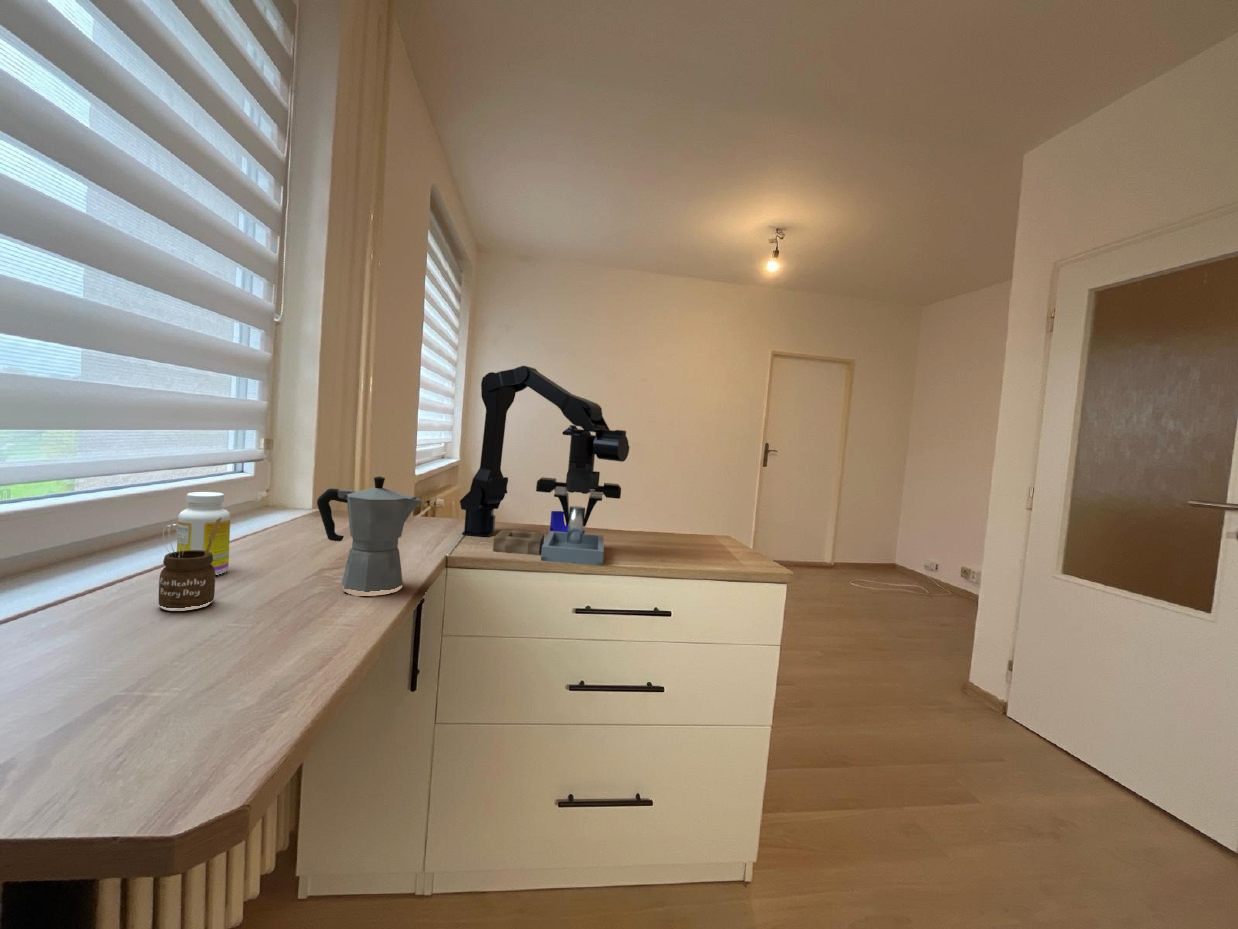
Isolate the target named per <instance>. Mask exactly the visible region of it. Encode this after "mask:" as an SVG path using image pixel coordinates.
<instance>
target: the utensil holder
mask: <svg viewBox="0 0 1238 929" xmlns="http://www.w3.org/2000/svg"><path fill="white" fill-rule="evenodd" d="M221 518H222V517H220V518H219V519H217V520H216V523H215V525H214V528H213V530H212V533H211V535H210V538H209V544H208V547H207V550H206V551H203V550H186V551H184V550H185V548H184V550H183V551H181V545H180V550H179V551H177V550H176V551H175V550H174V547H173V542H172V538H171V536H168V538H169V543H170V546H171V550H172V552H170V551H169V550H168V547H167V545H166V541H165V535H164V534H165V533H164V532H165V530H166V528H163V530H162V539H163V544H164V546H165V548H166V550H167V552H168V553H166V554H165V555H164V559H163V561H162V562H163V565H164V567H163V568H162V570H161V571H160V574H159V581H158V606H159V605H160V606H163V607H166V608H185V607H191V606H200V605H203V604H206V603H208V602H211V601H212V600H213V599H214V598H215V591H216V589H215V588H216V576H215V569H214V567H213V566H212V565H211V563H212V562H213V555H212V553H211V552H209V550H210V547H211V545H212V542H213V540H214V539H215V537H216V534H217V531H218V528H219V525H220V521H221ZM171 526H174V528H175V530H176V534H177V532H178V526H180V525H178V523H170V524H168V525H166V527H167V532H168V535H171V532H170V531H171ZM176 526H177V527H176ZM180 527H181V526H180ZM181 528H182V527H181ZM182 530H183V529H182ZM183 534H184V531H183ZM176 536H179V534H177V535H176ZM184 540H185V535H184ZM179 541H180V539H178V542H179ZM185 545H186V540H185V544H184V547H185ZM213 601H214V600H213Z"/></svg>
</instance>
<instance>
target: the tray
mask: <svg viewBox="0 0 1238 929" xmlns="http://www.w3.org/2000/svg"><path fill="white" fill-rule="evenodd" d="M567 534H568V532H558V531H550V530H549V532H548V533H547V536H546V538H545V539H544V544H543V545H542V549H541V551H540V555H541V556H540V561H541V562H551V563H552V562H553V563H554V562H555V563H566V564H577V565H578V564H579V565H588V566H589V565H591V566H603V562H604V555H605V554H604V552H605V550H604V548H605V547H604V534H595V533H594V534H590V533H585V534H583V540H582V544H571V543H567Z"/></svg>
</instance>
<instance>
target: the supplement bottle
mask: <svg viewBox="0 0 1238 929" xmlns="http://www.w3.org/2000/svg"><path fill="white" fill-rule="evenodd" d="M224 496H225V494H224V493H222V492H215V491H213V492H212V491H198V492H188V493H187V494H186V502H187V507H186V508H185V509H184V510H181V512H180V513H179V514H178V516H177V524H178V525H180V526H181V527H182V528H181V527H180V526H178V525H177V530H178V532H177V531H176V534H179V536H177V535H176V536H177V537H176V539H177V540H176V552H177V551H179V550H180V545H181V551H183V550H184V548H185V550H184V551H186V550H203V551H206V550H207V547H208V544H209V538H210V535H211V533H212V530H213V528H214V525H215V523H216V520H217V519H219V518H220V517H222V518H221V521H220V525H219V528H218V531H217V534H216V537H215V539H214V540H213V542H212V545H211V547H210V550H209V552H211V553H212V555H213V562H212V563H211V565H212V566H213V567H214V569H215V575H216V574H220V573H223V572H225V573H226V571H227V572H228V570H229V564H230V563H229V560H230V542H231V541H230V538H231V536H230V535H231V534H230V533H231V513H230V511H228V510H227V509H225V508H223V502H224V501H225V500H224V499H225V498H224ZM182 529H183V530H182ZM183 531H184V534H183ZM184 535H185V540H186V545H185V547H184V544H185V540H184ZM178 539H180V541H179V542H178Z"/></svg>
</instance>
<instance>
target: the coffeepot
mask: <svg viewBox="0 0 1238 929" xmlns="http://www.w3.org/2000/svg"><path fill="white" fill-rule="evenodd" d="M385 479H386V478H385V477H382V476H374V477H373V481H374V487H372V488H367V489H362V490H357V491H355V490H351V489H340V488H328V489H326V490H325V491H324V492H323V493H321V495H319V497H318V498H317V499H316V505H317V508H318V511H319V514H320V516H321V521H322V523H323V526H324V530H325V533H326V537H327V539H328V541H333V542H342V541H343V539H344V535H341V534H340V535H339V534H337V533H336V531H335V528H336V525H335V521H334V519H333V513H332V508H331V505H330V502H331V501H336V502H339V503H345V504H347V511H348V512H347V513H348V523H349V532H350V533H349V535H350V536H351V538H352V543H351V548H350V549H349V553H348V555H347V561H346V565H345V568H344V572H343V576H342V582H341V584H342V585H343V586H344V589H351V590H357V591H364V592H370V591H380V590H391V589H395V588H397V587H399V586H401V585H403V586H404V582H403V574H402V565H401V563H402V562H401V558H400V557H401V555H400V550H399V538H402V534H403V530H404V525H405V523H406V521H407V520H408V518H409V517H410V515H411V514H412V513H413V511H414V510H415V509H416V507H417V506H418V505H419V504H422V503H423V500H422V499H421V498H418V497H416V496H412V495H409V494H408V495H407V494H405V493H402V492H398V491H395V490H391V489H387V488H383V487H384V485H385V484H384V483H385Z"/></svg>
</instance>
